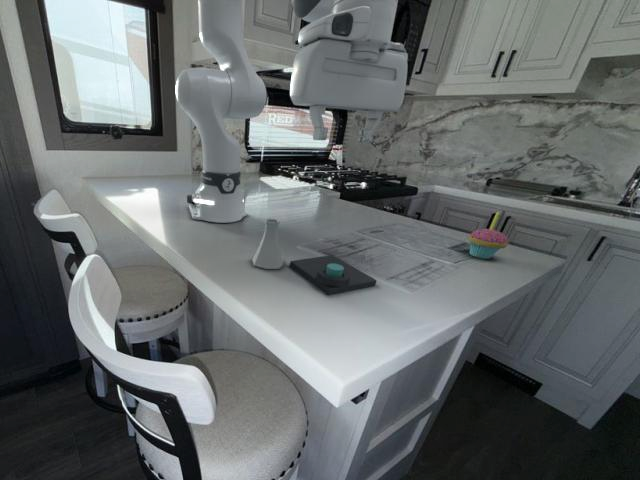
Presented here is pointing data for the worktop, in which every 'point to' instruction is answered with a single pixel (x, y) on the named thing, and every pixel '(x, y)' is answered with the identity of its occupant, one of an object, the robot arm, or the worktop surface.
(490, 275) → the worktop surface
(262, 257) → the flask
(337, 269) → the button
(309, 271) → the black flat block
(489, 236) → the cupcake
